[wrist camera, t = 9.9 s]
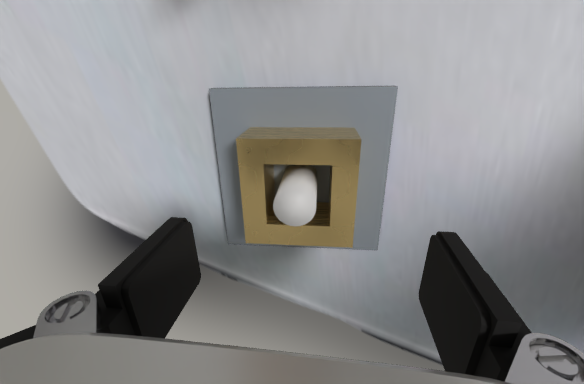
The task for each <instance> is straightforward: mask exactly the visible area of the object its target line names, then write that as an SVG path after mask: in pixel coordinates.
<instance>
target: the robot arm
mask: <svg viewBox="0 0 584 384" xmlns="http://www.w3.org/2000/svg"><path fill="white" fill-rule="evenodd" d="M200 278H201V273H200V268H199V262H198V256H197V251H196V246H195V240H194V235H193V230H192V225H191V223H190V222H188V221H187V219H186V218H176V217H171V218H169V219H168V220H167V221H166V222H165V223H164V224H163V225H162V226H161V227H160V228H159V229H157V230H156V231H155V232H154V233H153V234H152V235H151V236H150V237H149V238H148V239H147V240H146V241H145V242H143V243H142V244H141V245H140V246H139V247H138V248H137V249H136V250H135V251H134V252H133V253H132V254H130V255H129V256H128V257H127V258H126V259H125V260H124V261H123V262H122V263H121V264H120V265H119V266H118V267H116V268H115V269H114V271H112V272H111V273H110V274H109V275H108V276H107V277H106V278H105V279H103V280H102V281H101V282H100V283H99V284H98V287H99V289H100V290H99V291H98V292H97V293H96V294H94V293H92V292H90V291H77V292H74V293H70V294H68V295H65V296H63V297H60V298H59V299H57V300H55V301H53V302H52V303H51V304H49V305H48V306H47V307H46V308H45V309H44V310H43V311H42V312H41V313H40V316H39V317H38V320H37V324H36V325H35V326H32V327H30V328H27V329H25V330H22V331H20V332H17V333H15V334H12V335H10V336H7V337H5V338H2V339H0V384H584V353H582V352H581V351H580V350H578V349H577V348H576V347H574V346H572V345H571V344H569V343H567V342H565V341H564V340H561V339H559V338H556V337H554V336H551V335H547V334H543V333H531V331H530V330H529V329H528V327H527V326H526V325H525V323H524V322H523V321H522V319H521V318H520V317H519V315H518V314H517V313H516V311H515V310H514V308H513V307H512V306H511V304H510V303H509V302H508V300H507V299H506V298H505V296H504V295H503V294H502V292H501V291H500V290H499V288H498V287H497V286H496V284H495V283H494V282H493V280H492V279H491V278H490V276H489V275H488V274H487V273H486V272H485V271H484V270H483V268H482V267H481V266H480V264H479V263H478V262H477V260H476V259H475V258H474V256H473V255H472V253H471V252H470V251H469V249H468V248H467V247H466V245H465V244H464V243H463V241H462V240H461V239H460V237H459V236H458V234H457V233H455V232H437V233H436V235H432V236H431V238H430V243H429V247H428V252H427V257H426V261H425V266H424V271H423V275H422V280H421V285H420V289H419V300H420V303H421V306H422V309H423V312H424V314H425V317H426V320H427V322H428V325H429V328H430V331H431V333H432V336H433V339H434V342H435V344H436V347H437V350H438V352H439V355H440V358H441V361H442V363H443V366H444V369H445V371H440V370H432V369H424V368H417V367H410V366H402V365H393V364H386V363H377V362H369V361H360V360H352V359H342V358H334V357H326V356H318V355H309V354H300V353H291V352H283V351H274V350H265V349H256V348H247V347H238V346H230V345H220V344H210V343H202V342H191V341H183V340H172V339H165V337H166V335H167V334H168V332H169V330H170V329H171V327H172V326H173V324H174V322H175V321H176V319H177V318H178V316H179V314H180V313H181V311H182V309H183V308H184V306H185V305H186V303H187V302H188V300H189V298H190V297H191V295H192V294H193V292H194V290H195V289H196V287H197V285H198V284H199V282H200Z"/></svg>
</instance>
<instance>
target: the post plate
mask: <svg viewBox="0 0 584 384" xmlns="http://www.w3.org/2000/svg"><path fill="white" fill-rule="evenodd" d="M397 88H398V87H397V86H336V87H255V88H211V89H209V94H210V102H211V110H212V118H213V126H214V134H215V142H216V150H217V158H218V167H219V175H220V183H221V191H222V199H223V207H224V215H225V223H226V231H227V239H228V244H240V245H264V246H288V247H312V248H335V249H359V250H378V243H379V235H380V226H381V218H382V210H383V202H384V194H385V186H386V178H387V170H388V162H389V153H390V145H391V137H392V129H393V121H394V113H395V105H396V97H397ZM250 127H345V128H355V129H356V131H357V132H358V134H359V136H360V138H361V139H362V140H361V152H360V164H359V176H358V188H357V200H356V213H355V225H354V237H353V248H349V247H325V246H301V245H278V244H254V243H246V241H245V230H244V220H243V209H242V198H241V188H240V177H239V166H238V156H237V145H236V138H237V137H238V136H240V135H241V134H242V133H244V132H245V131H246V130H247V129H249V128H250ZM329 182H330V165H279V164H274V186H275V199H274V203H273V210H274V213H275V215H276V217H277V218H278V219H279V220H280V221H281V222H283V223H284V224H286V225H289V226H302V225H305V224H307V223H308V222H310V221H311V220H312V218H313V217H314V215H315V212H316V202H326V203H329Z"/></svg>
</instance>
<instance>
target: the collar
mask: <svg viewBox="0 0 584 384" xmlns="http://www.w3.org/2000/svg"><path fill="white" fill-rule="evenodd" d="M361 140H362V139H361V138H360V136H359V134H358V132H357V131H356V129H355V128H345V127H250V128H249V129H247V130H246V131H245V132H244V133H242V134H241V135H240V136H238V137H237V138H236V145H237V156H238V166H239V177H240V188H241V198H242V209H243V220H244V230H245V241H246V243H254V244H278V245H301V246H325V247H349V248H353V237H354V225H355V213H356V200H357V188H358V176H359V164H360V152H361ZM274 164H279V165H330V182H329V203H326V202H316V212H315V215H314V217H313V218H312V220H311V221H310V222H308V223H307V224H305V225H302V226H289V225H286V224H284V223H283V222H281V221H280V220H279V219H278V218H277V217H276V215H275V213H274V210H273V203H274V199H275V186H274Z"/></svg>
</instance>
